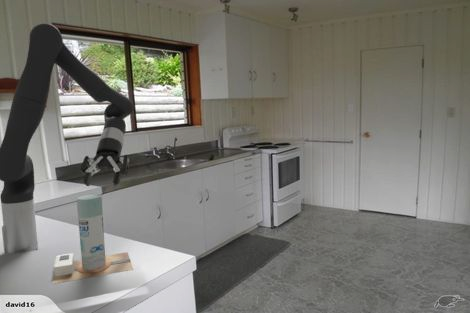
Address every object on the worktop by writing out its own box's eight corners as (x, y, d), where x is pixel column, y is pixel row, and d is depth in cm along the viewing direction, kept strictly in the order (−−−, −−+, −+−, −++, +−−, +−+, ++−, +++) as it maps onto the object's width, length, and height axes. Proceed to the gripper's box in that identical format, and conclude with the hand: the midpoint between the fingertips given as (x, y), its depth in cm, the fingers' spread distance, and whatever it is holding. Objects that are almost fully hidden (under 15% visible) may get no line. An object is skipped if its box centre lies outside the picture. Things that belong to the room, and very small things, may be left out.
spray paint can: (110, 264, 102) (105, 196, 100) (88, 272, 97) (83, 200, 95) (99, 259, 106) (94, 193, 104) (77, 266, 101) (72, 197, 99)
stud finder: (72, 273, 97) (72, 263, 97) (54, 276, 95) (54, 266, 95) (73, 261, 105) (73, 252, 105) (57, 264, 104) (56, 255, 103)
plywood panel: (53, 289, 91) (52, 283, 91) (57, 268, 104) (57, 262, 104) (133, 274, 99) (133, 268, 99) (128, 256, 112) (127, 251, 112)
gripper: (85, 137, 116) (73, 178, 106) (129, 136, 116) (121, 176, 106) (92, 151, 122) (81, 191, 112) (134, 150, 122) (127, 190, 112)
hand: (101, 184), depth 109 cm, fingers open, 8 cm apart
